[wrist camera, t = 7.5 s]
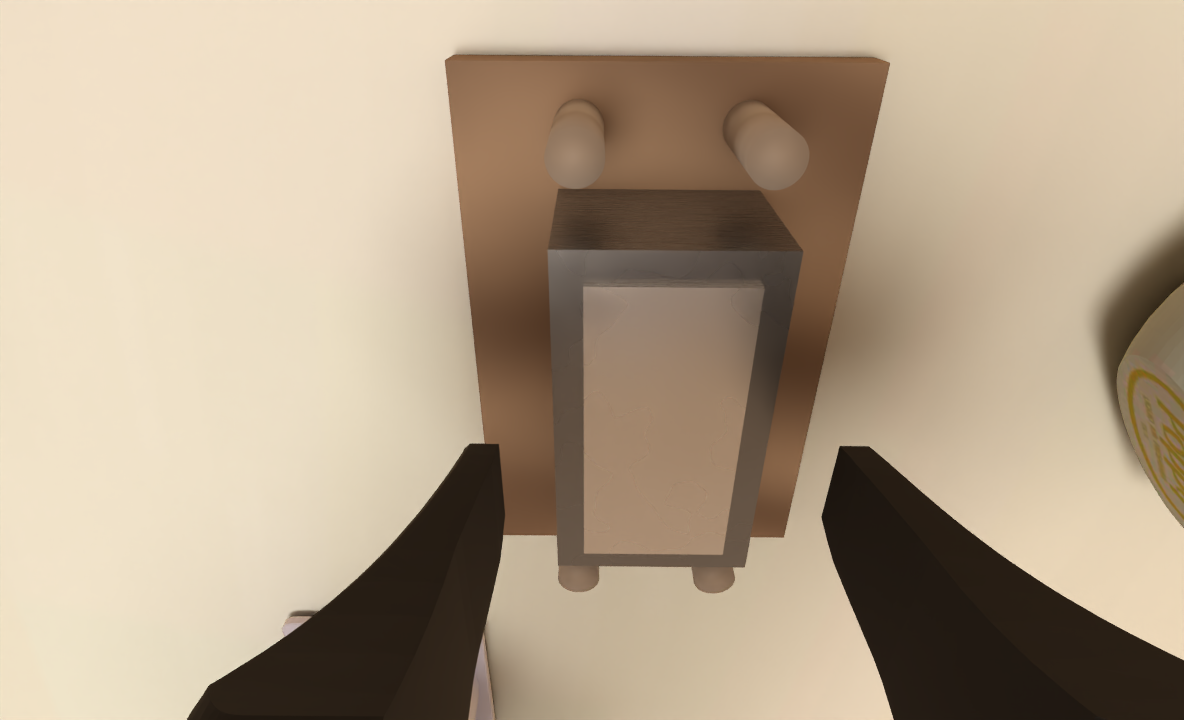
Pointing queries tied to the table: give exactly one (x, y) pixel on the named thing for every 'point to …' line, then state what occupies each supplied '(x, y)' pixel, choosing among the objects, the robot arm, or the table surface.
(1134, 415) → the air freshener
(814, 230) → the pegged wooden board
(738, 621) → the table surface
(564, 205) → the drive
